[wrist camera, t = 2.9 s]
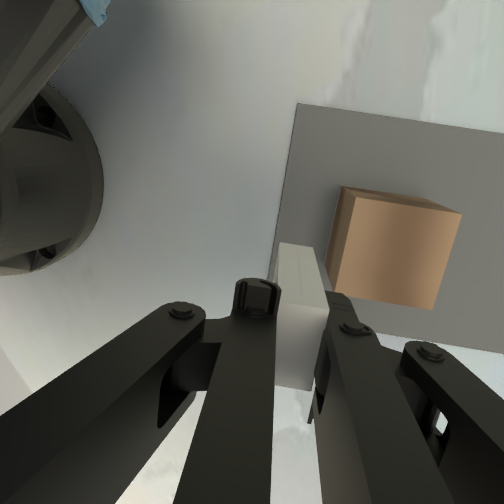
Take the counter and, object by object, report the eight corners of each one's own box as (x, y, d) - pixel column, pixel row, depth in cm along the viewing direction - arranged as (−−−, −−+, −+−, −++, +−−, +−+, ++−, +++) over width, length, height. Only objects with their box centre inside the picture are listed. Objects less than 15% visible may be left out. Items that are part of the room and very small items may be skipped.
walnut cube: (323, 263, 29) (334, 294, 23) (340, 185, 27) (355, 197, 22) (402, 276, 29) (432, 310, 23) (424, 198, 27) (462, 213, 21)
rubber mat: (262, 311, 31) (262, 313, 31) (297, 103, 26) (297, 103, 26) (560, 361, 30) (563, 364, 30) (651, 156, 26) (656, 156, 25)
